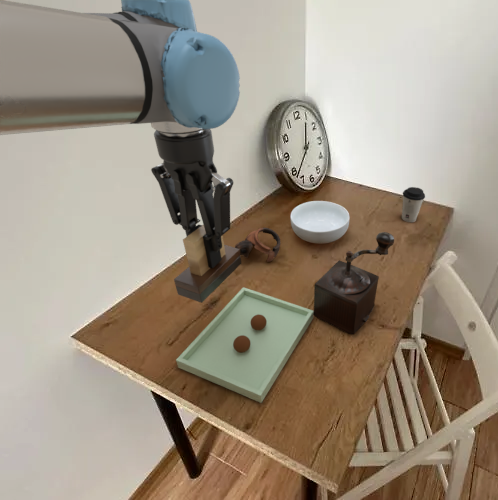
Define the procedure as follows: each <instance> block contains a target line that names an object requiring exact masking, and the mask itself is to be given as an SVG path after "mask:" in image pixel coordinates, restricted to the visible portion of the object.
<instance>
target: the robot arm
mask: <svg viewBox="0 0 498 500" xmlns="http://www.w3.org/2000/svg"><path fill="white" fill-rule="evenodd" d="M120 2H121V3H120V4H121V7H120V8H121V11H118V12H112V13H109V12H108V13H107V12H105V13H104V12H78V11H72V10H66V9H61V8H55V7H48V6H42V5H36V4H30V3H24V2H18V1H11V0H0V136H8V135H20V134H30V133H31V134H32V133H41V132H52V131H55V132H56V131H65V130H74V129H75V130H76V129H88V128H89V129H90V128H101V127H111V126H122V125H142V124H150V125H151V128H152V129H154V130H155V131H154V133H153V137H154V142H155V145H156V149H157V153H158V156H159V157H160V159H161V160H163V162H162V163H159V164H158V165H155V166H153V167H151V169H150V171H151V173H152V175H153V176H154V178H155V179H156V181H157V182H158V185H159V188H160V190H161V193H162V196H163V199H164V201H165V204H166V207H167V210H168V213H169V215H170V218H171V221H172V223H173V224H174V225H176V226H177V225H179V226H181V228H182V229H183V230H184V231H185V236H186V237H187V236H188V235H190V234H191V233H192V232H194V231H195V230H197V229H198V228H199V227H201V226H202V225H203V224H204V228H205V231H206V234H205V235H204V236H203V241H204V246H205V251H206V256H207V261H208V266H209V268H213V267H215V266H216V265H217V264H218V263H219V262H220V261H221V260H222V259H221V253H220V249H221V248H222V241H221V236H222V235H223V236H224V235H225V234H226V233H227V232H228V231H230V230H231V191H232V189H233V187H234V186H233V185H234V180H233V179H232V177H227V178H224V176H222V175H220V174H219V173H218V169H217V166H216V165H215V163H214V154H215V145H214V139H213V133H212V129H216V128H219V127H221V126H222V125H224V124H225V123H227V122H228V120H230V119H231V117H232V116H233V114H234V113H235V111H236V108H237V107H238V102H239V99H240V93H241V91H240V86H241V85H240V79H241V77H240V71H239V67H238V64H237V62H236V60H235V59H236V58H235V57H234V55H233V54H232V52H231V51H230V49H229V48H228V46H227V45H226V44H225V43H224V42H223V41H221V40H220V39H219V38H217V37H215V36H213V35H211V34H207V33H204V32H200V31H198V29H197V24H196V19H195V15H194V11H193V7H192V3H191V1H190V0H120ZM197 207H198V209H197ZM197 210H198V211H199V214H200V218H201V219H199V218H198V211H197ZM201 221H202V224H199V222H201Z"/></svg>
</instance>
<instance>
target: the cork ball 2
mask: <svg viewBox="0 0 498 500" xmlns="http://www.w3.org/2000/svg"><path fill="white" fill-rule="evenodd" d="M266 323H267V321H266V318H265V317H264V316H263V315H255V316H254V317H253V318H252V319H251V327H252V328H253V329H254V330H262V329H264V328H265V326H266Z"/></svg>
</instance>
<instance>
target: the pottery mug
mask: <svg viewBox="0 0 498 500" xmlns="http://www.w3.org/2000/svg"><path fill="white" fill-rule="evenodd" d="M259 233H264V234H268V235H271V236H272V237H273V240H274V241H276V245H275V246H273V247H272V250H271V247H270V246H267V245H266V244H264V243H262V242H261V240H260V238H259V236H258V235H259ZM281 244H282V243H281V238H280V236H279V234H278V233H277V232H276V231H275V230H273V229H272V228H269V227H260V228H258V229H257V230H253V231H251V232H249V234H248V235H247V236H246V237H245V239H244V240H241V241H239V242H238V243H236V244H235V245H234V248H237V249H240V256H243V257H244V258H246V259H248V258H249V255H250V253H251V252H252V250H253V248H254V249H256V250H257V251H259V252H261V253H263V254H264V255H267V258H266V260H265V261H266V262H267V263H271V262H272V261H273V260H274V258H276V257H277V256H278V254H279V252H280V249H281Z"/></svg>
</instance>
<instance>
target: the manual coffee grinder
mask: <svg viewBox="0 0 498 500" xmlns="http://www.w3.org/2000/svg"><path fill="white" fill-rule="evenodd" d="M375 240H376V242H377V247H376V248H375V249H360V250H358V251H356V252H354V253H353V252H352V251H351V250H347V251H346V253H345V259H344V260H345V261H343V260H339V259H338V261H336V262H335V263H334V264H333V265H332V266H331V268H329V270H328V271H326V272H325V273H324V274H323V275H322V276H321V277H320V278H319V279H318V280H317V281H316V282H315V283H314V285H313V287H314V289H313V290H314V291H313V292H314V293H313V311H314V313H313V317H316V318H317V319H319V320H320V321H322V322H325V323H326V324H328V325H330V326H332V327H334V328H336V329H339V330H340V331H343V332H344V333H346V334H349V335H353V336H354V335H355V334H357V332H358V331H359V329H361V327H363V325H364V324H366V323H367V322H368V320H369V318H370V315H371V313H372V312H373V310H374V308H375V301H376V295H377V290H378V284H379V278H380V276H379V275H378V274H377V275H376V274H374V273H373V272H370V271H367V270H365V269H363V268H360V267H358V266H356V265H353V264H352V262H353V261H354V260H355V259H357V258H358V257H361V256H362V255H379V256H387V255H389V249H390V247H392V246H394V244H395V237H394V235H393V234H392V233H390V232H388V231H382V232H379V233H377V235H376V238H375Z"/></svg>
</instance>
